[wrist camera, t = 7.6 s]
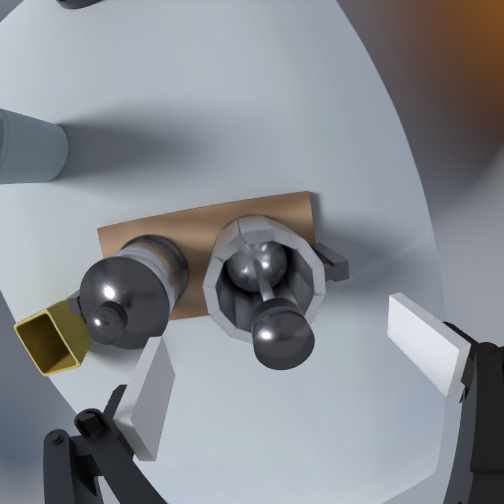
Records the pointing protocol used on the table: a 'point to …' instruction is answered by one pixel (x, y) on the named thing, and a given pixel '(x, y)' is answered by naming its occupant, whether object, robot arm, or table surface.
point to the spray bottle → (30, 149)
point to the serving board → (207, 236)
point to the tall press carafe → (290, 286)
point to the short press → (132, 292)
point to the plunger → (271, 307)
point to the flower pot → (54, 338)
